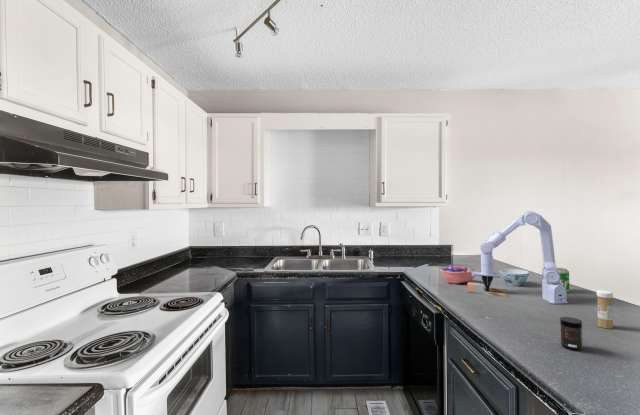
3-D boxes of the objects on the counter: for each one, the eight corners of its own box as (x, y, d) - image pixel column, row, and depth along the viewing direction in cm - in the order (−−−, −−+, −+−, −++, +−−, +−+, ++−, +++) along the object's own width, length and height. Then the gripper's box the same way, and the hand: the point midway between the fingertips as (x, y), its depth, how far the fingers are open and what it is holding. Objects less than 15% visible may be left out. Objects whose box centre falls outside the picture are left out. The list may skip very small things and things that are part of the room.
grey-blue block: (484, 291, 169) (484, 283, 169) (484, 293, 165) (484, 285, 165) (476, 290, 171) (476, 282, 171) (475, 292, 167) (475, 284, 167)
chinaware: (535, 287, 176) (535, 273, 176) (508, 288, 176) (508, 274, 176) (519, 281, 191) (518, 268, 191) (494, 281, 191) (493, 269, 191)
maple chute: (508, 292, 168) (508, 288, 168) (508, 299, 156) (508, 295, 156) (467, 288, 178) (467, 284, 178) (464, 294, 166) (464, 290, 166)
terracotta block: (476, 290, 171) (476, 282, 171) (475, 292, 167) (475, 284, 167) (468, 289, 173) (468, 282, 173) (467, 291, 169) (467, 284, 169)
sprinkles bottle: (594, 324, 122) (593, 290, 122) (604, 324, 122) (604, 289, 122) (605, 329, 117) (605, 293, 117) (617, 328, 118) (616, 292, 118)
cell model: (480, 287, 180) (479, 267, 180) (443, 286, 183) (442, 267, 183) (470, 280, 197) (470, 262, 197) (437, 279, 200) (436, 262, 200)
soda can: (553, 292, 166) (552, 269, 166) (550, 289, 172) (550, 267, 172) (571, 294, 162) (570, 270, 162) (567, 290, 169) (567, 268, 169)
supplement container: (579, 345, 105) (579, 318, 105) (585, 352, 100) (585, 324, 100) (558, 342, 108) (557, 315, 108) (562, 349, 102) (562, 321, 102)
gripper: (502, 264, 166) (503, 290, 166) (472, 262, 173) (473, 287, 173) (502, 266, 160) (503, 293, 160) (471, 264, 167) (471, 290, 167)
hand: (487, 290), depth 166 cm, fingers closed
